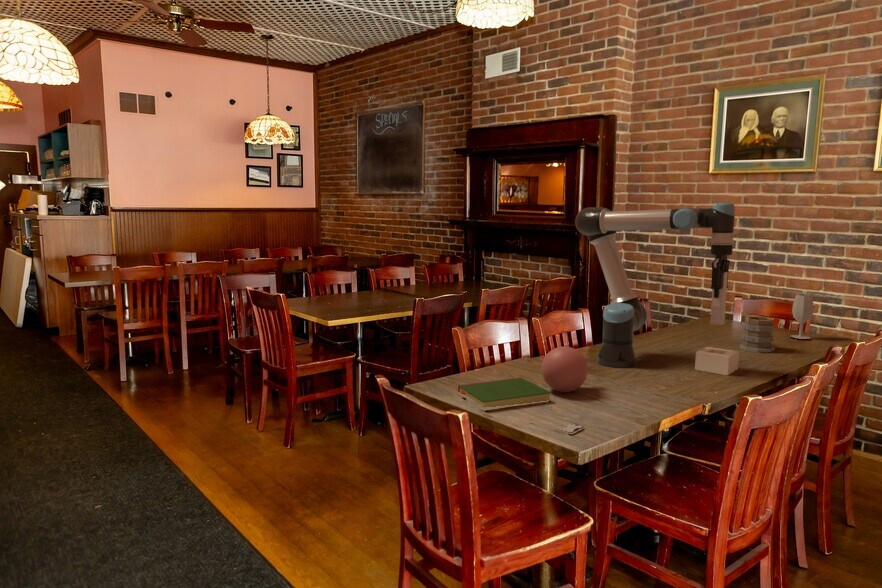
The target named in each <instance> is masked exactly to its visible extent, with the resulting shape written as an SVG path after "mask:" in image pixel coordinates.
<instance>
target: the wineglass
mask: <svg viewBox="0 0 882 588" xmlns="http://www.w3.org/2000/svg"><path fill="white" fill-rule="evenodd" d="M814 307H815V306H814V299H813V295H811V294H807V293H797V294H796V295H795V297H794V299H793V303H792V309H791V311H792V312H791V313H792V316H793V318H794V319H795V320H796V322H798V323H799V330H798V334H794V335H793V334H791V335H790V336H791V337H794V338H799V339H810V338H812V337H810V336H807V335H803V333H804V324H805V323H806V322H808V321H809V320H811V319H812V316H813V314H814ZM810 340H811V339H810Z"/></svg>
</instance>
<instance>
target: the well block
mask: <svg viewBox="0 0 882 588" xmlns="http://www.w3.org/2000/svg"><path fill="white" fill-rule="evenodd" d="M739 359H740V351H738V350H732V349H726V348H720V347H719V348H718V347H711V346H706V347H703V348H702V349H699V350H698V351H695V362H694V363H695V364H694V370H695V371H700V372H705V371H706V373H712V374H718V375H723V376H729V375H731V374H732V373H734V372H736V371H737V370H738V369H739ZM735 370H736V371H735Z"/></svg>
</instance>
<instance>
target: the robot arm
mask: <svg viewBox="0 0 882 588" xmlns="http://www.w3.org/2000/svg"><path fill="white" fill-rule="evenodd" d="M735 209H736V206H735V204H734V203H732V202H715V203H713V204H712V207H710V208H709V207H708V208H706V207H705V208H696V207H694V208H691V207H686V208H685V207H683V208H670V209H666V208H664V209H646V210H645V209H641V210H617V211H616V210H615V211H611V210H610V209H608V208H605V207H603V206H596V207H594V206H593V207H585V208H583V209H581V210H580V211H579V212H578V213H577V215H576V216H575V219H574V224H575V228H576V229H577V231H578V232H579V233H580V234H581V235H584V236H587V239H588V242H589V244H591V245H593V246H594V248H595V251H596V254H597V258H598V261H599V264H600V266H601V267H600V268H601V270H602V272H603V275H604V279H605V282H606V284H607V285H606V286H607V287H608V290H609V293H610V296H611V302H610V304H607V305H605V307H604V309H603V313H602V318H603V319H602V344H601V346H600V349H599V352H598V354H597V358H596V359H597V360H596V361H597V363H598V364H599V365H603V366H605V367H609V368H610V367H613V368H632V367H635V366H637V356H636V355H637V354H636V352H635V350H634V349H635V348H634V346H633V345H634V344H633V342H634V332H635V331H636V332H637V331H639V330H640V329H642V328H643V326H644V325H645V324H646V322H647V319H648V312H647V309H646V307H645V306H644V305H643V304H642V303H641V302H640V299H639V296H638V295H637V294H634V293H633V290H632V286H631V283H630V281H629V278H628V275H627V273H626V269H625V266H624V264H623V260H622V257H621V255H620V251H619V248H618V245H617V243H616V242H617V241H616V236H617V232H619V231H650V230H651V231H653V230H654V231H659V230H690V229H711V237H710V243H711V245H710V254H711V255H712V256H713V255H714V256H715V258H714V260H713V261H712V262H711V284H710V285H711V286H710V289H711V290H712V289H713V304H712V306H718V307H720V306H721V289H720V288H721V280H722V272H728V273H730V272H729V268H730V263H731V259H728V256H731V255H733V245H732V244H733V242H734V239H735V237H736V236H735V235H734V232H735V231H734V230H735V217H736V214H735V211H736V210H735ZM728 285H729V274H728V275H727V289H728V288H729V286H728Z"/></svg>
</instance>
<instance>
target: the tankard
mask: <svg viewBox="0 0 882 588" xmlns="http://www.w3.org/2000/svg"><path fill="white" fill-rule="evenodd" d="M741 316H742V317H744V322H743V323H742V334H741V339H742V341H743V342H742V343H740V344H739V347H740V348H739V349H741V348H742V349H741V350H743V349H744V350H743V351H745V350H747V351H746V352H749V351H753V352H752V353H755V352H770V353H773V352H774V351H775V346H773V345H772V343H773V342H774V335H773V331H775V324H774V319H773V318H770V317H767V316H758V315H757V316H754V315H753V316H752V315H749V312H748V311H743V312H742V313H741ZM772 351H773V352H772Z"/></svg>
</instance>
